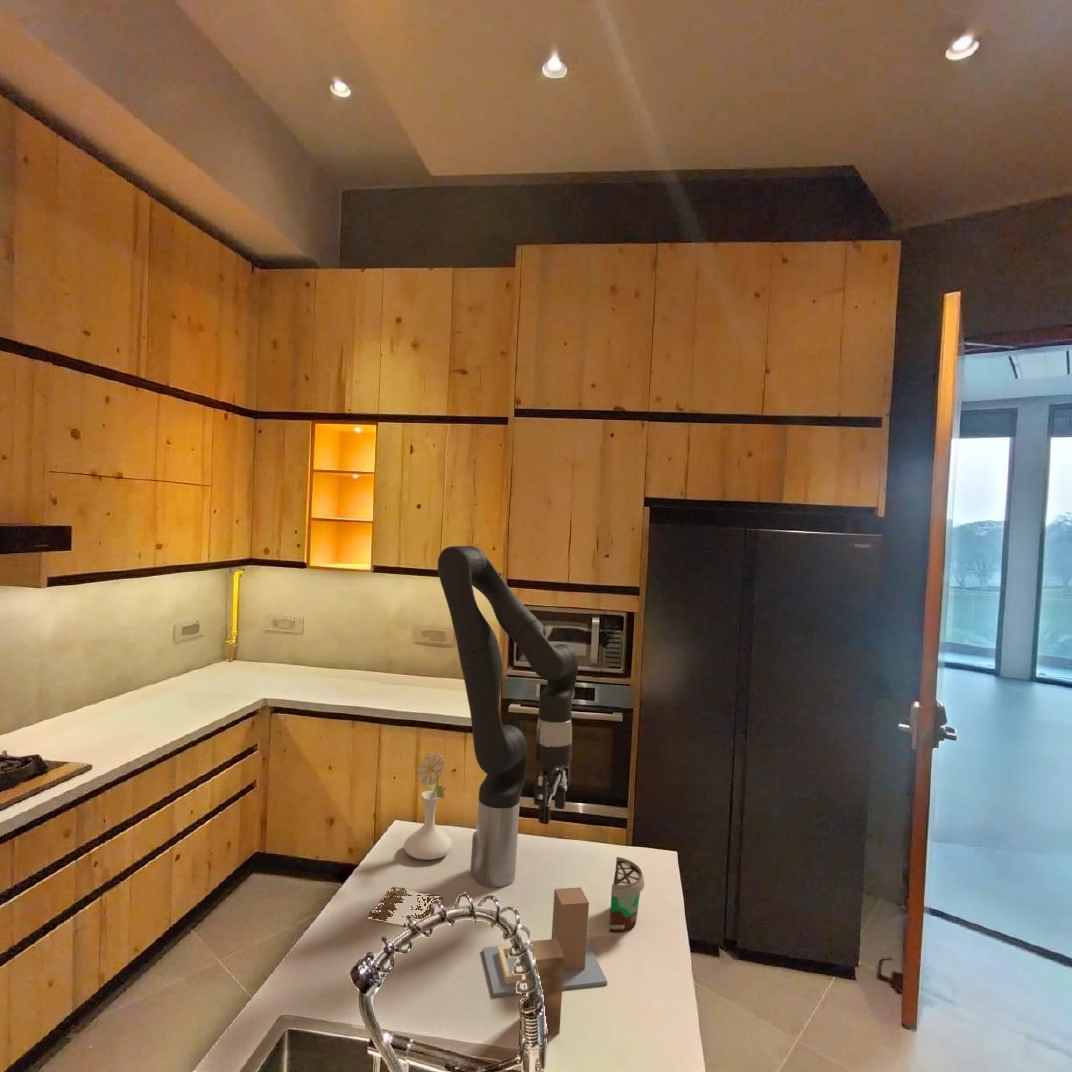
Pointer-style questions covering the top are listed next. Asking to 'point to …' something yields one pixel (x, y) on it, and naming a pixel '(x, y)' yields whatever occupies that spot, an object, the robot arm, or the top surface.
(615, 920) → the food container
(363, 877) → the top surface
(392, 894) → the cookie
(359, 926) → the top surface
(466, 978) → the top surface
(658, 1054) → the top surface
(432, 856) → the flower in vase
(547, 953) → the walnut pillar
